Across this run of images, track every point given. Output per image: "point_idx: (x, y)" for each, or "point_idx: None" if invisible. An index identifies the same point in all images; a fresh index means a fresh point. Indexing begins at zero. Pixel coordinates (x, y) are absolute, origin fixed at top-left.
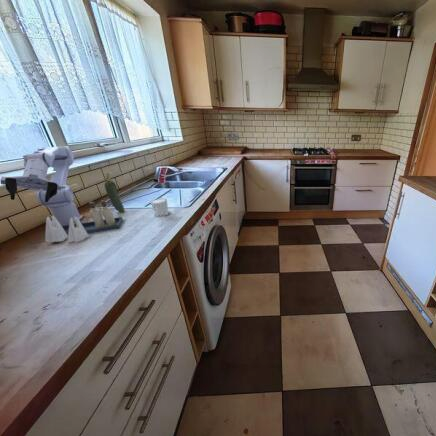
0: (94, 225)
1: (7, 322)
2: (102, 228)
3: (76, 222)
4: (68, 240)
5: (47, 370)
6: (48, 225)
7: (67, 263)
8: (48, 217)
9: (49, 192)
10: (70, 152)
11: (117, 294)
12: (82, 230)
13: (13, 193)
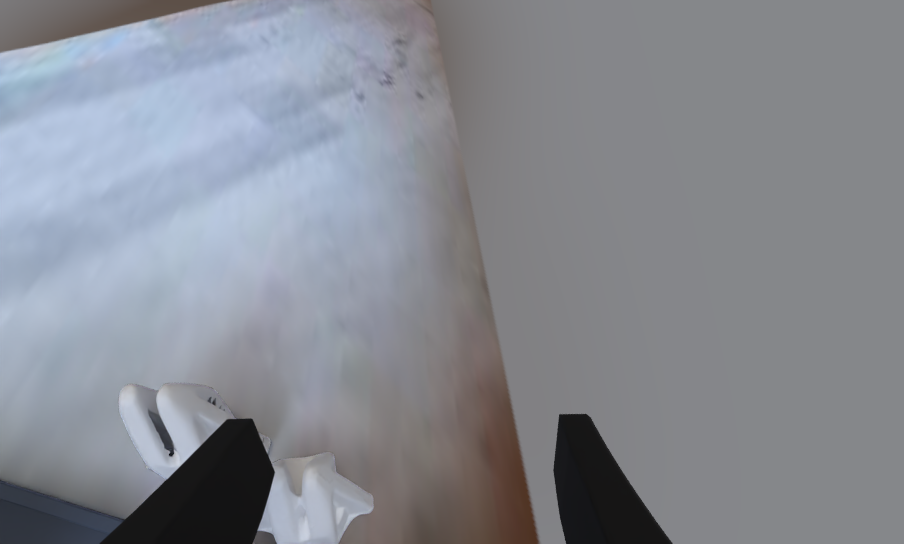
0: None
1: (446, 93)
2: (9, 485)
3: (153, 398)
4: (266, 438)
5: None
6: (330, 455)
7: (318, 231)
8: (308, 465)
9: (130, 517)
10: None
11: (255, 5)
12: (156, 431)
13: (572, 433)
